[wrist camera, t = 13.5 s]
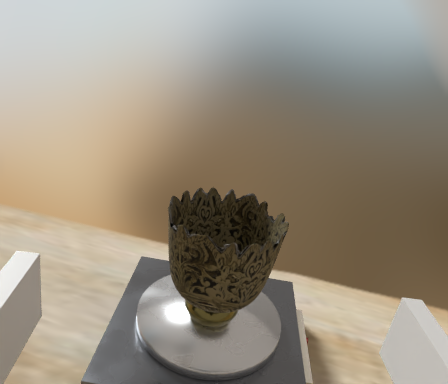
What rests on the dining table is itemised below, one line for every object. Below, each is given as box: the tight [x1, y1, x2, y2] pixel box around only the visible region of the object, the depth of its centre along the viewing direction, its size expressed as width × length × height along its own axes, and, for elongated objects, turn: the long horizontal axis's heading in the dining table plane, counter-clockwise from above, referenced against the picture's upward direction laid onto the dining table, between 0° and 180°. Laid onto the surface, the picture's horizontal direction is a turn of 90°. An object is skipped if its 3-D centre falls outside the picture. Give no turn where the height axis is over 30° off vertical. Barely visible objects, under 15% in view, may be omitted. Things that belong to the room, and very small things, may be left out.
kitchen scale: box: [81, 257, 313, 384], centre depth 29 cm, size 14×13×4 cm
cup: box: [168, 188, 289, 327], centre depth 27 cm, size 8×7×8 cm
